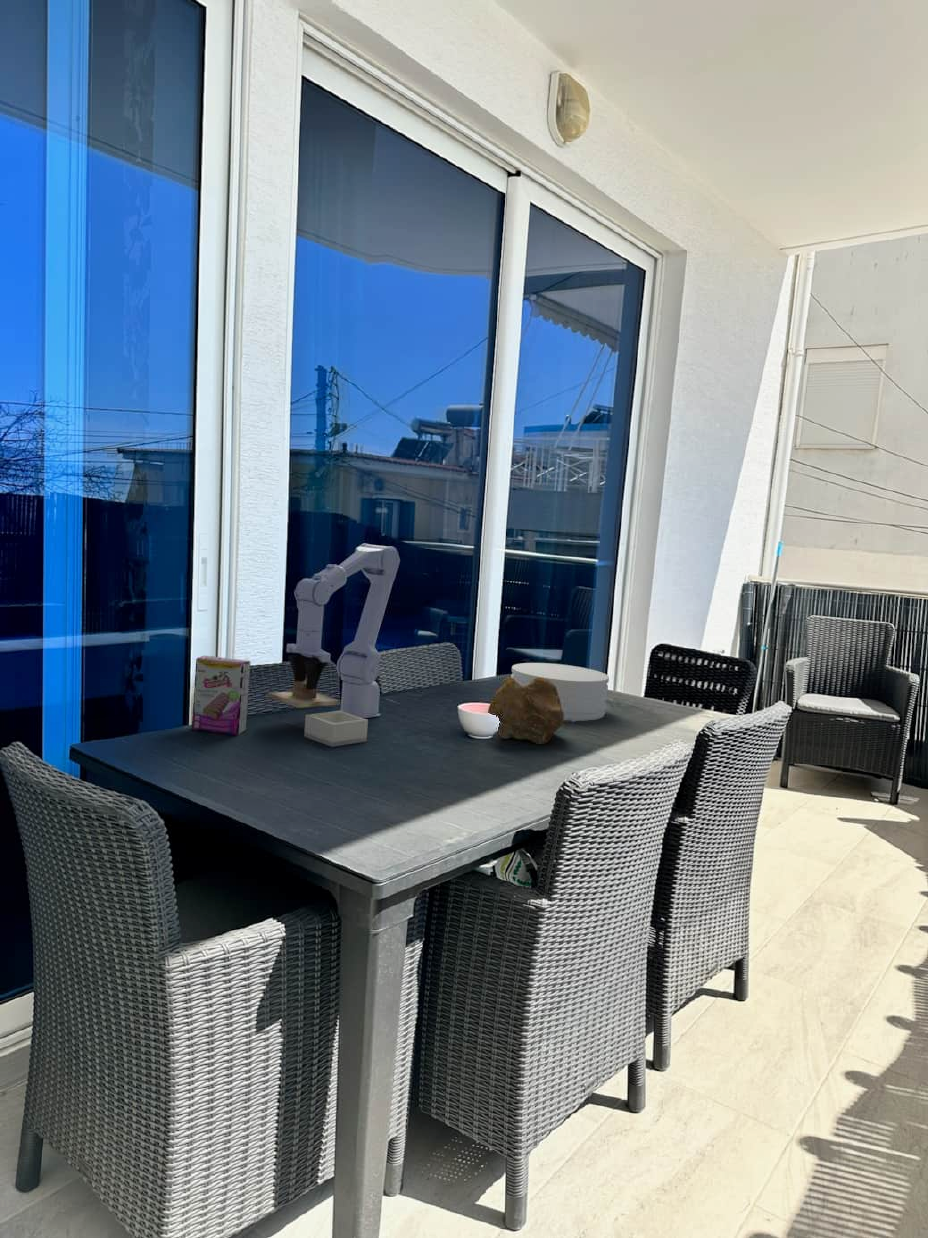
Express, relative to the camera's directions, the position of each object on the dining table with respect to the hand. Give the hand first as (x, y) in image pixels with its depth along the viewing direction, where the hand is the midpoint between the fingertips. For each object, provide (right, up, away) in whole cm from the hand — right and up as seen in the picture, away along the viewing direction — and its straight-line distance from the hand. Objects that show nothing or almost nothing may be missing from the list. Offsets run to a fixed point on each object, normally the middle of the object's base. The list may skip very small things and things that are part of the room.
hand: (305, 687), depth 208 cm
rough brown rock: (+54, -14, +10) cm, 57 cm away
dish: (+8, -11, -7) cm, 16 cm away
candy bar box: (-18, -9, -9) cm, 22 cm away
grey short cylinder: (+64, -11, +48) cm, 81 cm away
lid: (0, -3, 0) cm, 3 cm away
